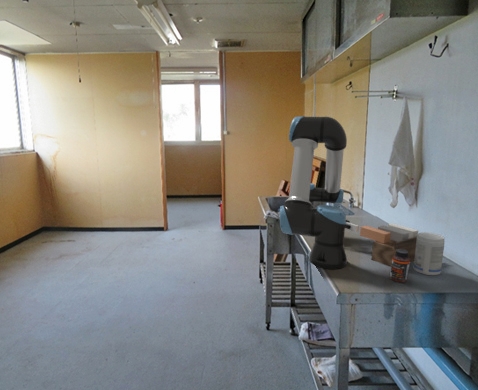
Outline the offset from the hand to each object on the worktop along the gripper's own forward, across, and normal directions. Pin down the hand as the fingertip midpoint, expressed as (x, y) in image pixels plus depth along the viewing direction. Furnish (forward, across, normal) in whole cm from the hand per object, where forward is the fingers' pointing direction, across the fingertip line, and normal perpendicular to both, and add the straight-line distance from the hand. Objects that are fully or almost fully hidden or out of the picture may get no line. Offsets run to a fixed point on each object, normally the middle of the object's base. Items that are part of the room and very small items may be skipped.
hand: (357, 228), depth 156 cm
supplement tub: (+30, -5, -10) cm, 32 cm away
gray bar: (+13, -7, -2) cm, 15 cm away
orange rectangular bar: (+9, 0, -2) cm, 9 cm away
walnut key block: (+16, -7, -10) cm, 20 cm away
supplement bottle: (+29, +12, -10) cm, 33 cm away
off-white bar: (+13, -14, -2) cm, 19 cm away
